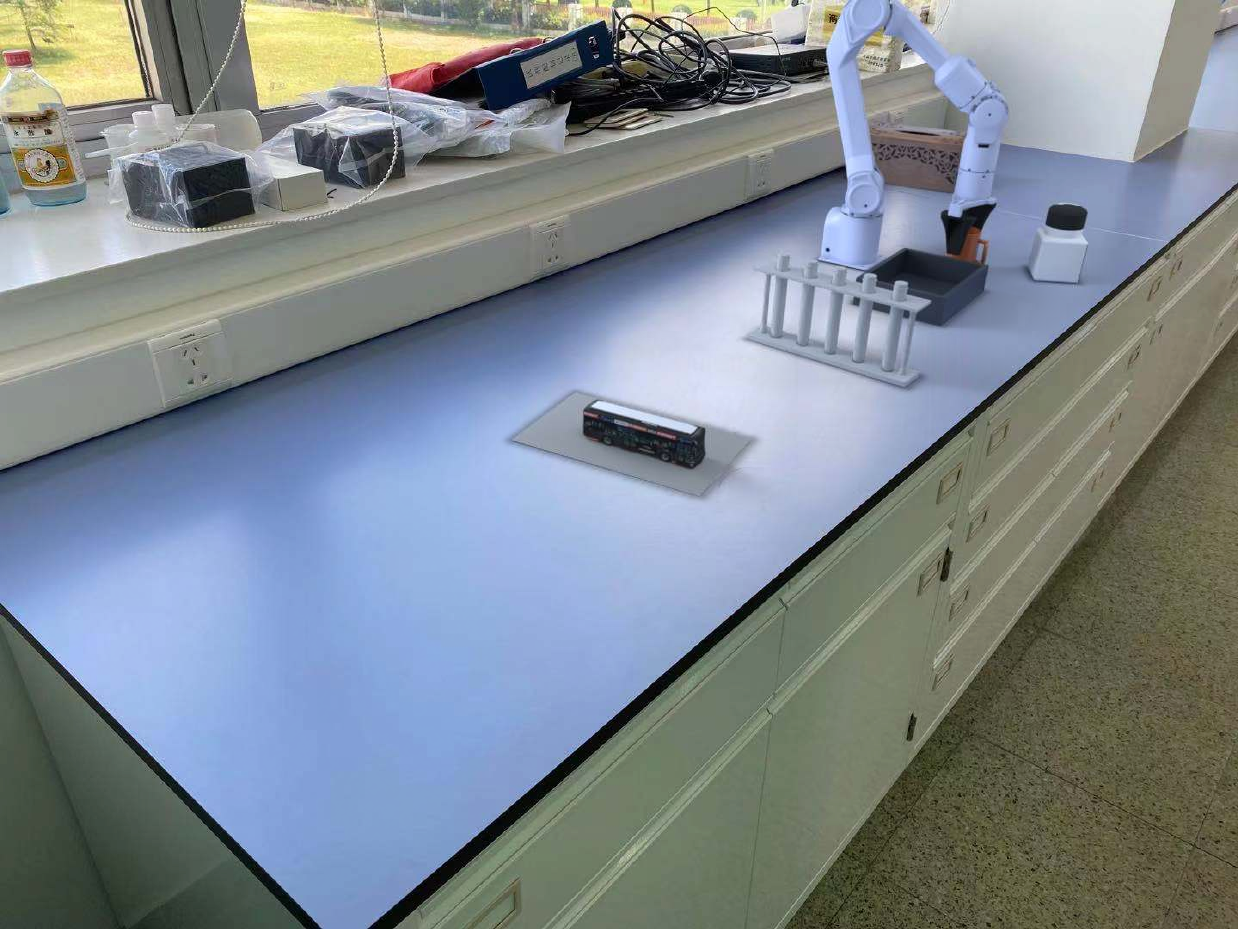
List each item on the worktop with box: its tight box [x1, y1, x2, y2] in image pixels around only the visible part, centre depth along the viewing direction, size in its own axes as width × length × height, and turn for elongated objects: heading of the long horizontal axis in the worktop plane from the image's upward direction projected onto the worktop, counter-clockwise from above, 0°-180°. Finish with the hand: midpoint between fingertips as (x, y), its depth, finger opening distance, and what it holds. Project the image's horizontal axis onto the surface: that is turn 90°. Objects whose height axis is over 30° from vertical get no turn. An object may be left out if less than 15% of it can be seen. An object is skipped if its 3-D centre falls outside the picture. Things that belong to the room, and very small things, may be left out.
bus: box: [511, 392, 751, 497], centre depth 115 cm, size 14×25×4 cm, turn 60°
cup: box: [944, 227, 990, 264], centre depth 165 cm, size 7×5×7 cm
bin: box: [852, 247, 990, 327], centre depth 155 cm, size 15×19×4 cm
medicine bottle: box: [1027, 202, 1089, 284], centre depth 162 cm, size 7×7×12 cm
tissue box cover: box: [845, 120, 967, 194], centre depth 217 cm, size 26×14×10 cm, turn 58°
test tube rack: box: [746, 251, 931, 388], centre depth 133 cm, size 25×4×13 cm, turn 50°
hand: (961, 248), depth 166 cm, fingers open, 7 cm apart
